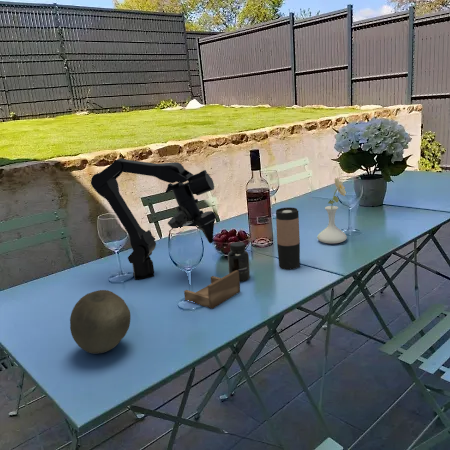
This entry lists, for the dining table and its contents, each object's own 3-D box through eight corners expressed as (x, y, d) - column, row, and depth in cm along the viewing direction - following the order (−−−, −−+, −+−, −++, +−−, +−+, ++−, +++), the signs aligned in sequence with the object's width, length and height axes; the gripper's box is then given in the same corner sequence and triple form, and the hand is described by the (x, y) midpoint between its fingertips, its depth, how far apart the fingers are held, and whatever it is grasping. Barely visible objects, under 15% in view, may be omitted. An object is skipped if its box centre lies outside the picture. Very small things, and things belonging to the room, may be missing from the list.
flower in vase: (335, 248, 162) (334, 182, 156) (311, 242, 171) (309, 180, 164) (355, 239, 171) (355, 176, 164) (331, 234, 179) (330, 174, 172)
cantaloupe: (78, 372, 98) (66, 313, 94) (73, 343, 110) (62, 290, 106) (139, 354, 103) (131, 297, 99) (128, 328, 116) (120, 277, 111)
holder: (185, 300, 130) (182, 278, 128) (213, 284, 139) (211, 264, 137) (212, 308, 123) (210, 286, 121) (240, 291, 132) (238, 270, 130)
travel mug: (273, 267, 149) (270, 211, 144) (286, 260, 154) (284, 206, 149) (292, 271, 144) (289, 214, 138) (304, 264, 149) (303, 208, 144)
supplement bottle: (243, 284, 138) (241, 248, 134) (225, 280, 141) (222, 246, 138) (253, 276, 143) (251, 241, 140) (236, 273, 147) (233, 239, 143)
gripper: (153, 212, 144) (172, 253, 147) (178, 207, 128) (198, 254, 131) (180, 199, 150) (198, 239, 153) (207, 193, 134) (226, 238, 137)
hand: (204, 243), depth 143 cm, fingers open, 9 cm apart
